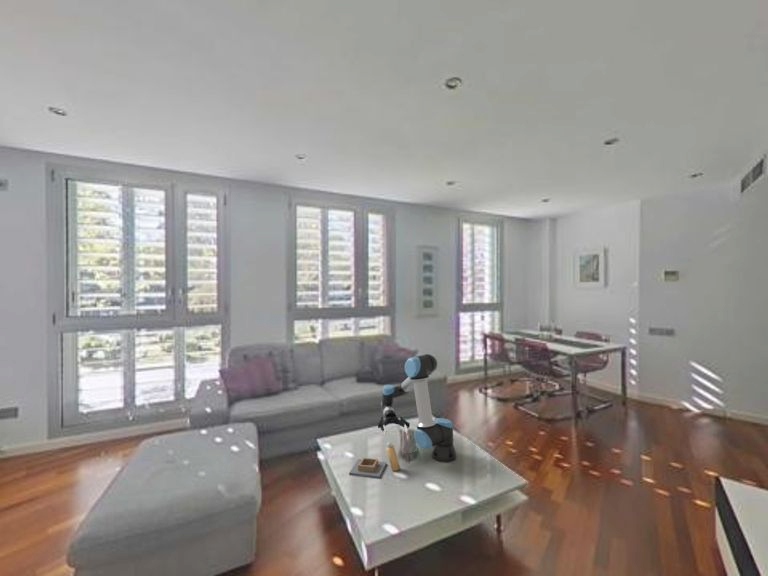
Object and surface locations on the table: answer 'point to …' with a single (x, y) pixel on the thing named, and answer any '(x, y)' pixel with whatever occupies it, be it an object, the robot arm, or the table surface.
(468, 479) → the table surface
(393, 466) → the yellow bottle
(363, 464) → the dock
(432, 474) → the table surface
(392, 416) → the robot arm
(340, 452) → the table surface
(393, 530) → the table surface
